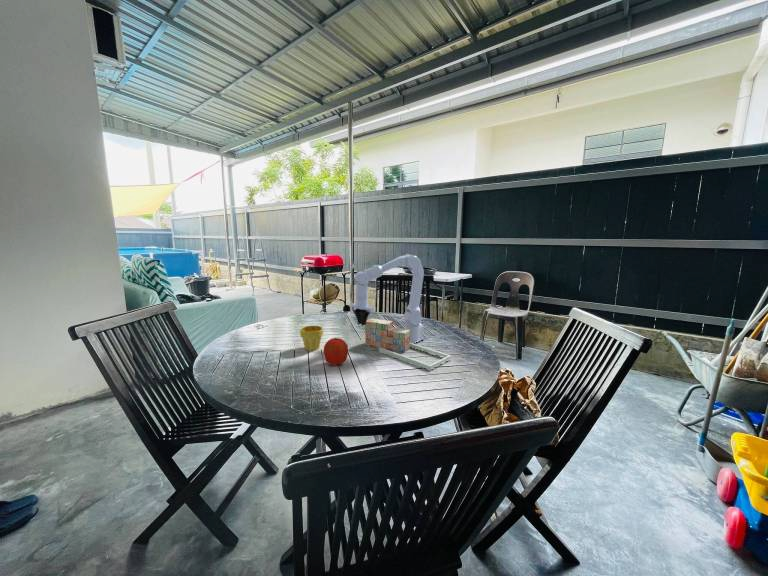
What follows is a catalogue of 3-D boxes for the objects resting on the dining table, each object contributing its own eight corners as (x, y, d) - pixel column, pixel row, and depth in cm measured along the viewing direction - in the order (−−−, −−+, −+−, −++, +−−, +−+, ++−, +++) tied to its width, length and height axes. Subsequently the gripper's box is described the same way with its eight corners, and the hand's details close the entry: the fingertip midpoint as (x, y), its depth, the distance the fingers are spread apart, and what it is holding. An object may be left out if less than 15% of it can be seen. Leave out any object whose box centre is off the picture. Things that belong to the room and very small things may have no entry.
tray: (400, 343, 155) (400, 339, 155) (450, 359, 135) (451, 355, 135) (378, 351, 144) (378, 347, 143) (430, 370, 124) (430, 366, 124)
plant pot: (310, 354, 140) (310, 333, 138) (296, 348, 146) (295, 328, 144) (327, 347, 148) (327, 328, 146) (313, 342, 154) (313, 324, 153)
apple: (324, 369, 124) (324, 342, 122) (322, 360, 134) (322, 334, 132) (349, 367, 127) (349, 340, 125) (346, 357, 136) (345, 332, 134)
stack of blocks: (409, 348, 149) (410, 323, 147) (404, 352, 143) (405, 327, 141) (371, 341, 158) (371, 317, 156) (364, 344, 153) (364, 320, 151)
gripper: (345, 295, 151) (345, 322, 153) (366, 300, 141) (366, 329, 143) (356, 293, 156) (356, 320, 158) (377, 298, 146) (376, 326, 148)
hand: (361, 324), depth 151 cm, fingers closed
